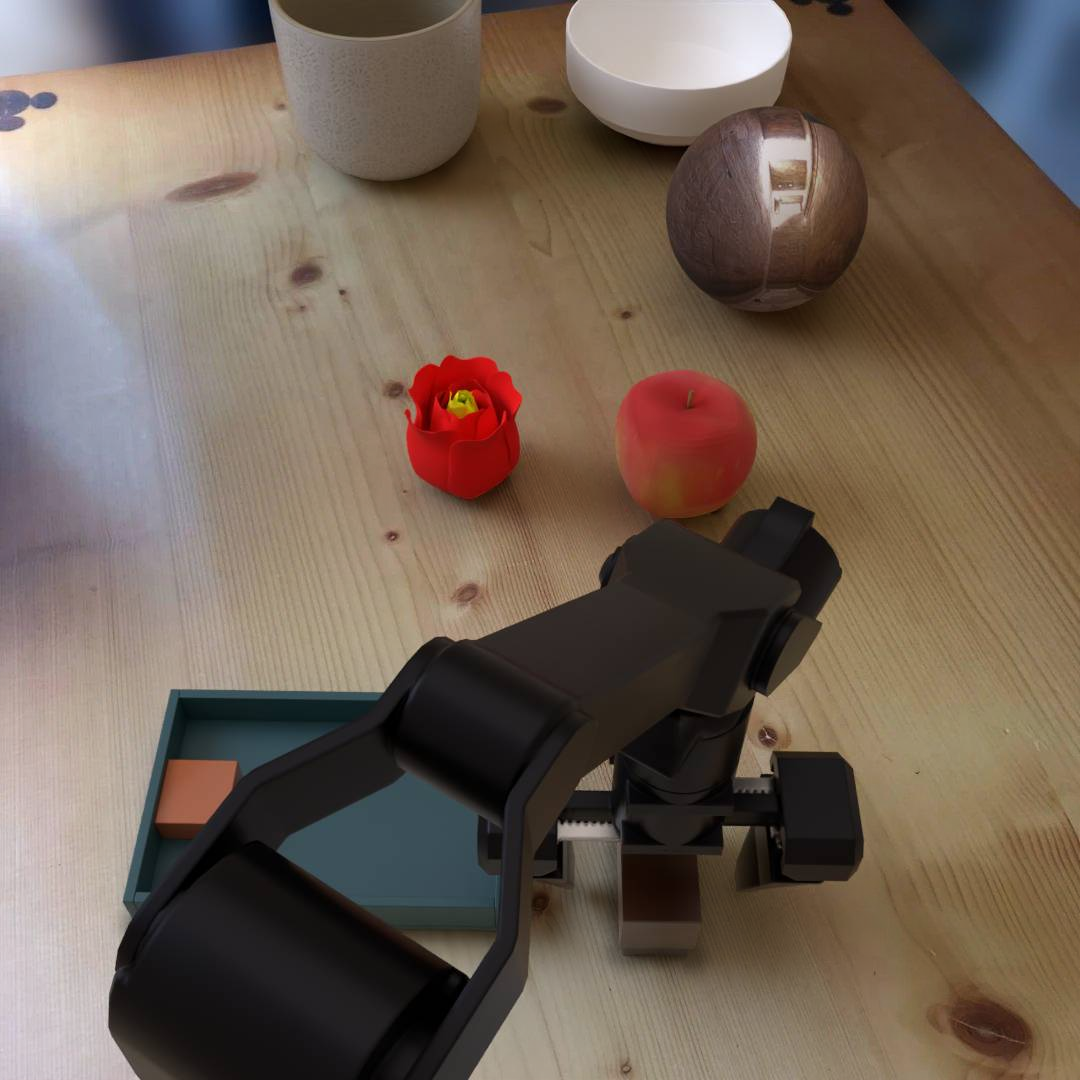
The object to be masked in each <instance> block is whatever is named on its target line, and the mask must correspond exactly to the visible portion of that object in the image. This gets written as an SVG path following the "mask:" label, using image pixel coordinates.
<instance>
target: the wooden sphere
mask: <svg viewBox="0 0 1080 1080" xmlns="http://www.w3.org/2000/svg"><path fill="white" fill-rule="evenodd" d="M665 204H666V205H665V223H666V224H665V225H666V231H667V235H668V236H667V237H668V240H669V244H670V247H671V249H672V251H673V252H672V253H673V254H674V256H675V258H676V260H677V262H678V264H679V266H680V267H681V269H682V271H683V272H684V273H685V275H686V276H687V277H688V279H689V280H690V281H691V282H692V283H693V284H694V285H695V286H696V287H697V288H698V289H699V290H700V291H702V292H703V293H705V294H706V295H708V296H709V297H710V298H712V299H714V300H716V301H718V302H719V303H722V304H724V305H726V306H728V307H732V308H735V309H738V310H742V311H747V312H748V311H749V312H759V313H765V312H766V313H769V312H777V311H782V310H788V309H791V308H794V307H797V306H800V305H803V304H805V303H807V302H809V301H811V300H813V299H815V298H816V297H817V296H820V295H821V294H823V293H824V292H825V291H827V290H828V289H829V288H830V287H831V286H832V285H834V283H836V282H837V281H838V280H839V279H840V277H841V276H842V275H843V274H844V273H845V271H846V270H848V268H849V266H850V265H851V264H852V262H853V261H854V258H855V257H856V255H857V252H858V251H859V249H860V246H861V243H862V240H863V238H864V235H865V231H866V227H867V222H868V216H869V215H868V214H869V194H868V187H867V182H866V179H865V175H864V172H863V170H862V167H861V164H860V161H859V159H858V157H857V156H856V154H855V152H854V151H853V149H852V148H851V146H850V145H849V144H848V142H847V141H846V140H845V138H844V137H843V136H842V135H841V134H840V133H839V132H838V131H836V130H835V128H833V127H832V126H830V125H829V124H828V123H826V122H825V121H824V120H822V119H820V118H819V117H817V116H815V115H812V114H810V113H808V112H806V111H802V110H799V109H795V108H791V107H785V106H777V105H776V106H775V105H773V106H766V107H756V108H751V109H746V110H743V111H739V112H737V113H734V114H731V115H729V116H727V117H725V118H723V119H721V120H720V121H718V122H716V123H715V124H713V125H712V126H710V127H709V128H708V129H706V130H705V131H704V132H703V133H702V134H701V135H700V136H699V137H698V138H697V139H696V140H695V141H694V142H693V143H692V144H691V145H688V147H687V149H686V150H685V152H684V153H683V155H682V157H681V158H680V160H679V162H678V163H677V165H676V167H675V169H674V172H673V174H672V177H671V180H670V183H669V186H668V191H667V197H666V203H665Z"/></svg>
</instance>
